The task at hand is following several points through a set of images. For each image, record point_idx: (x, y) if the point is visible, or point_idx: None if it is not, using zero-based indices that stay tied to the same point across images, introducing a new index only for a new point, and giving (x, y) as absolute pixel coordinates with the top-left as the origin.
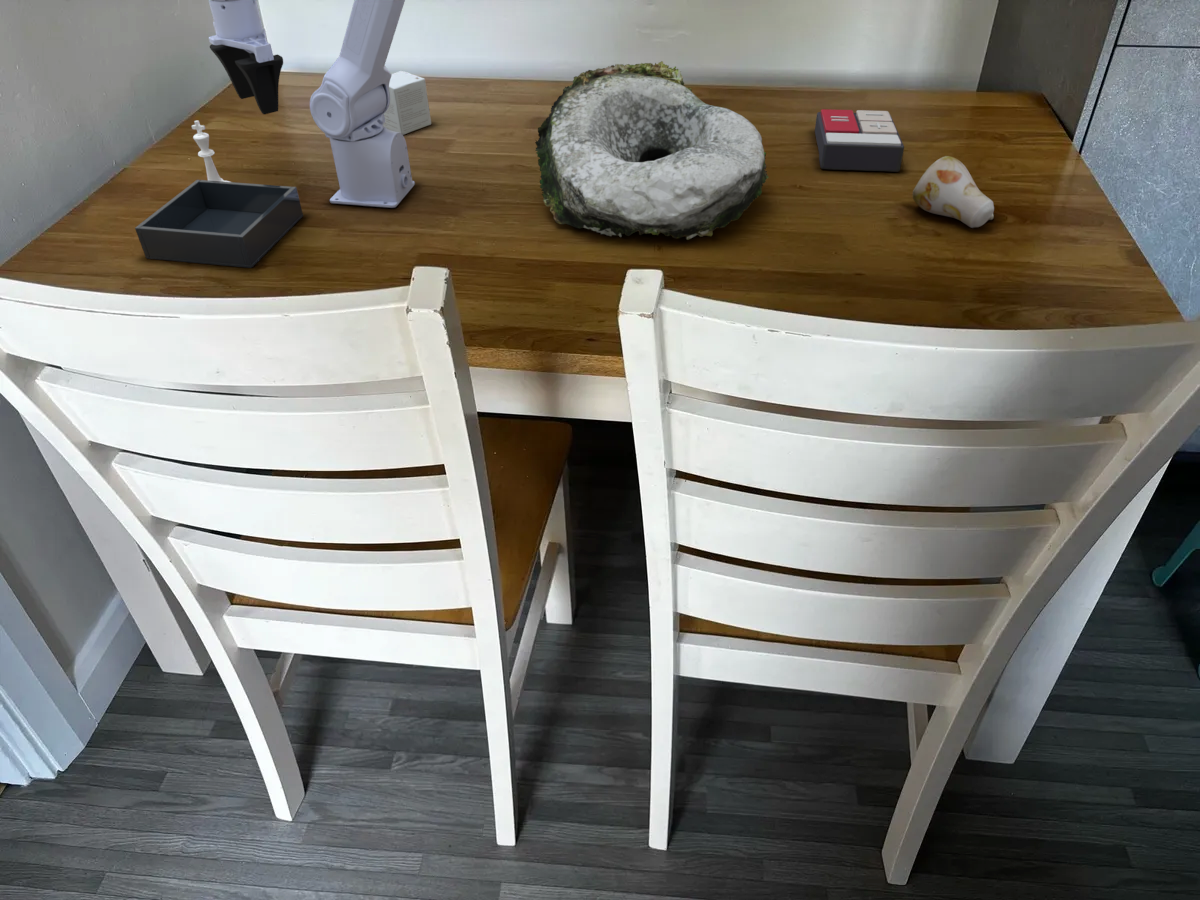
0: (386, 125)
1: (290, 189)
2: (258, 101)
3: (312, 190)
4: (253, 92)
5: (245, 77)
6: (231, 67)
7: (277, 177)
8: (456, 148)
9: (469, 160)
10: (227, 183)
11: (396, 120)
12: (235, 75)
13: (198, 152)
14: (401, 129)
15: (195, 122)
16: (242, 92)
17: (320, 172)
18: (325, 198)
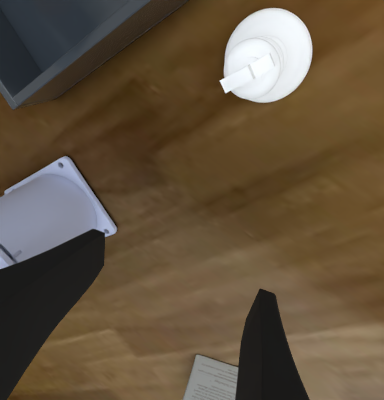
0: (228, 370)
1: (7, 94)
2: (59, 245)
3: (132, 175)
4: (47, 262)
5: (245, 367)
6: (255, 395)
7: (224, 181)
8: (115, 340)
9: (78, 320)
10: (111, 16)
11: (196, 374)
12: (255, 362)
13: (274, 45)
14: (194, 362)
15: (244, 68)
16: (255, 309)
17: (182, 229)
18: (92, 165)
